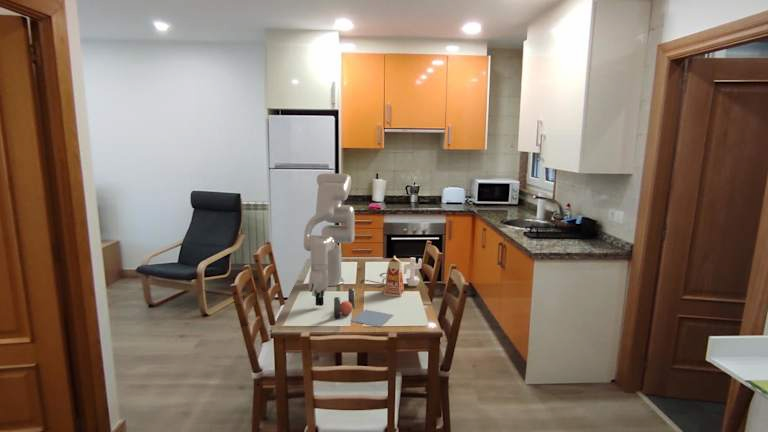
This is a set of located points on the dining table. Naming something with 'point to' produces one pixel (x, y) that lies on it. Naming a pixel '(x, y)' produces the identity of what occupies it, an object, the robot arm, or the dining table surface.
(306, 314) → the dining table surface
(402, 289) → the milk carton
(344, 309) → the ball
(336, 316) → the post
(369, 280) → the sunglasses
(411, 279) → the figurine
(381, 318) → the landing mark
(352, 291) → the post
